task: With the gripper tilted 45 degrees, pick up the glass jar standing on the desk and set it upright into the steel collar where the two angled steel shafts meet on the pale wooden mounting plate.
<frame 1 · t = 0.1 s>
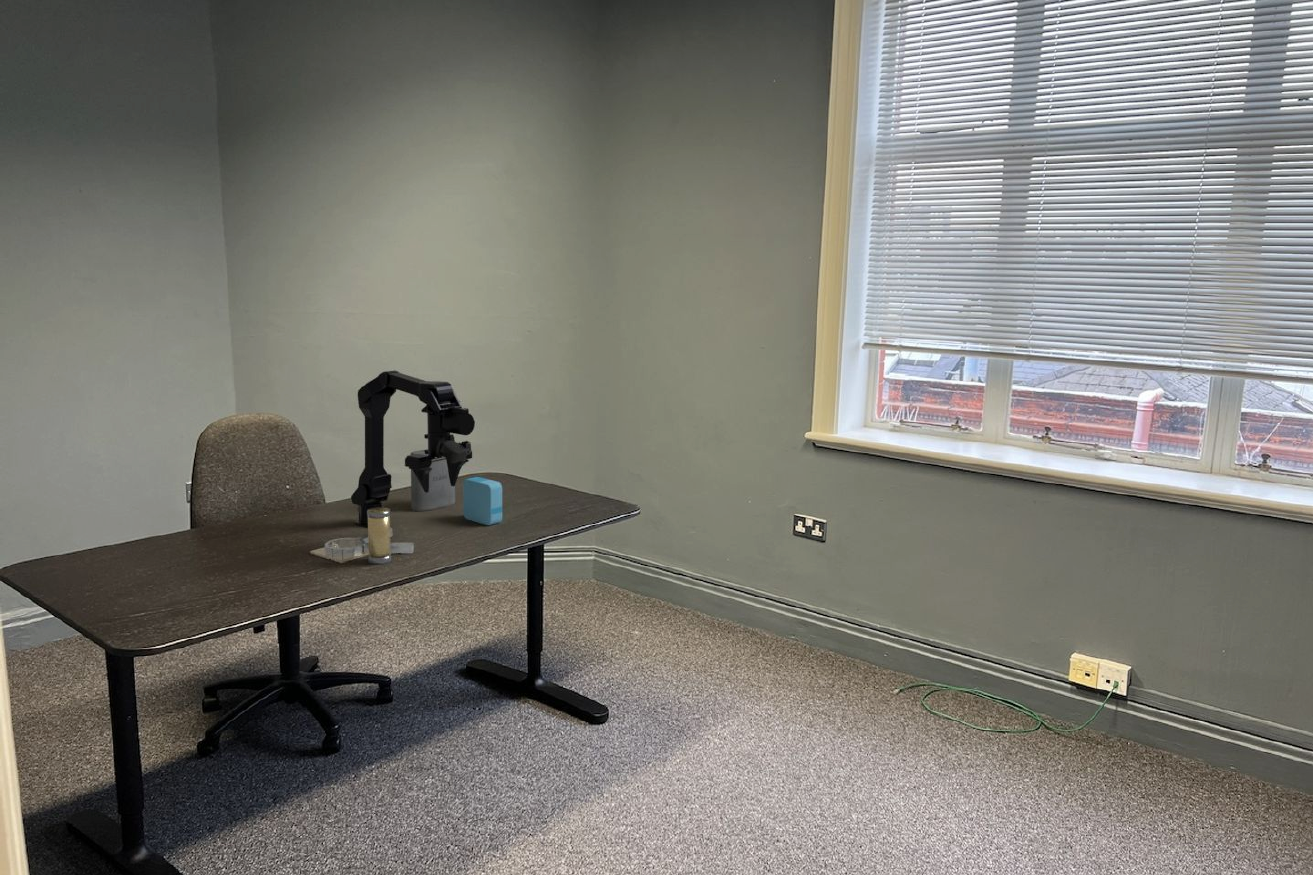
hand: (439, 489, 243), 15 cm above the table, tool pointing down, fingers open, 9 cm apart
flask: (434, 507, 281), on the table
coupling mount: (345, 552, 236), on the table
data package: (482, 521, 268), on the table
glass jar: (380, 560, 230), on the table
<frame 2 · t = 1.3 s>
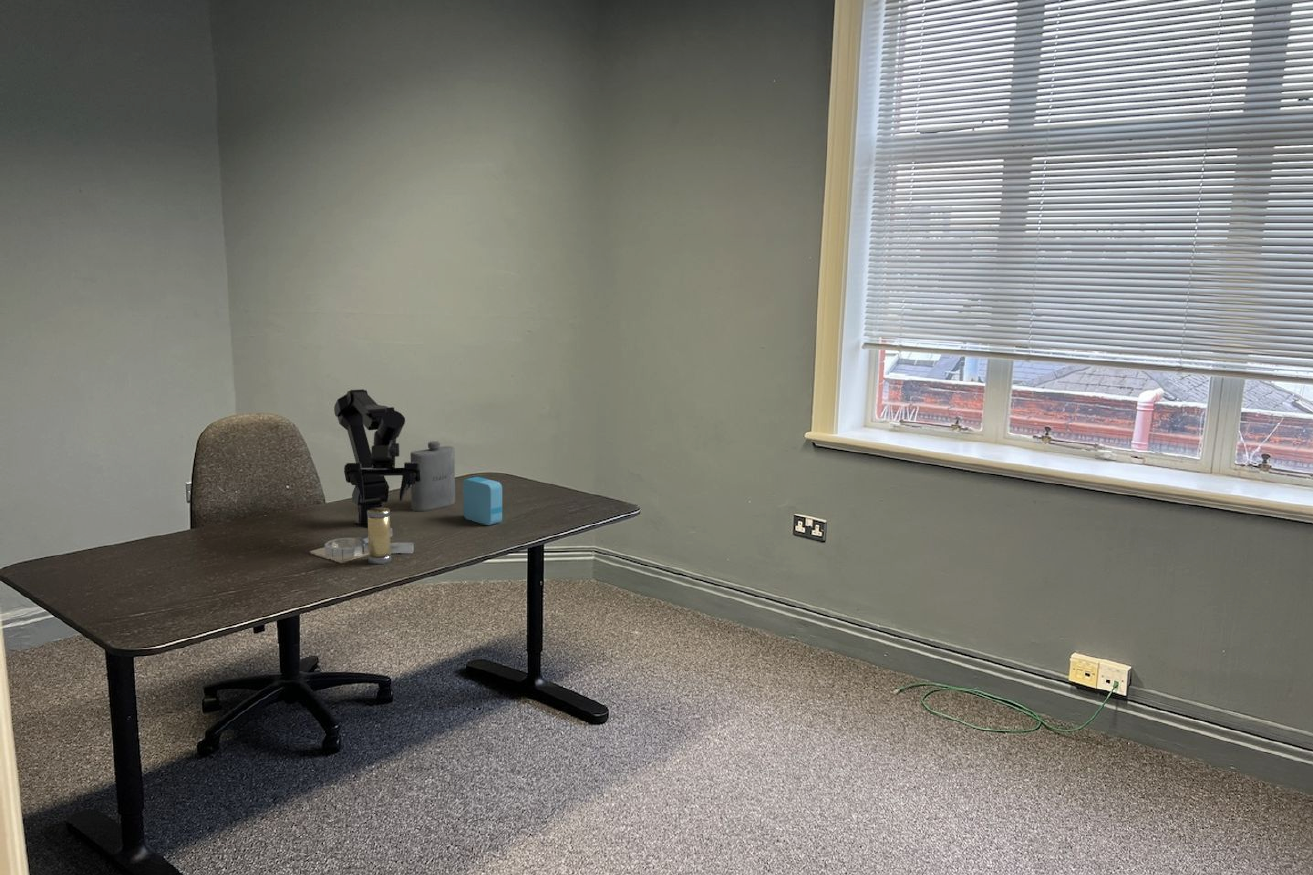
hand: (381, 500, 235), 13 cm above the table, tool tilted 45°, fingers open, 9 cm apart
nothing on the table moved.
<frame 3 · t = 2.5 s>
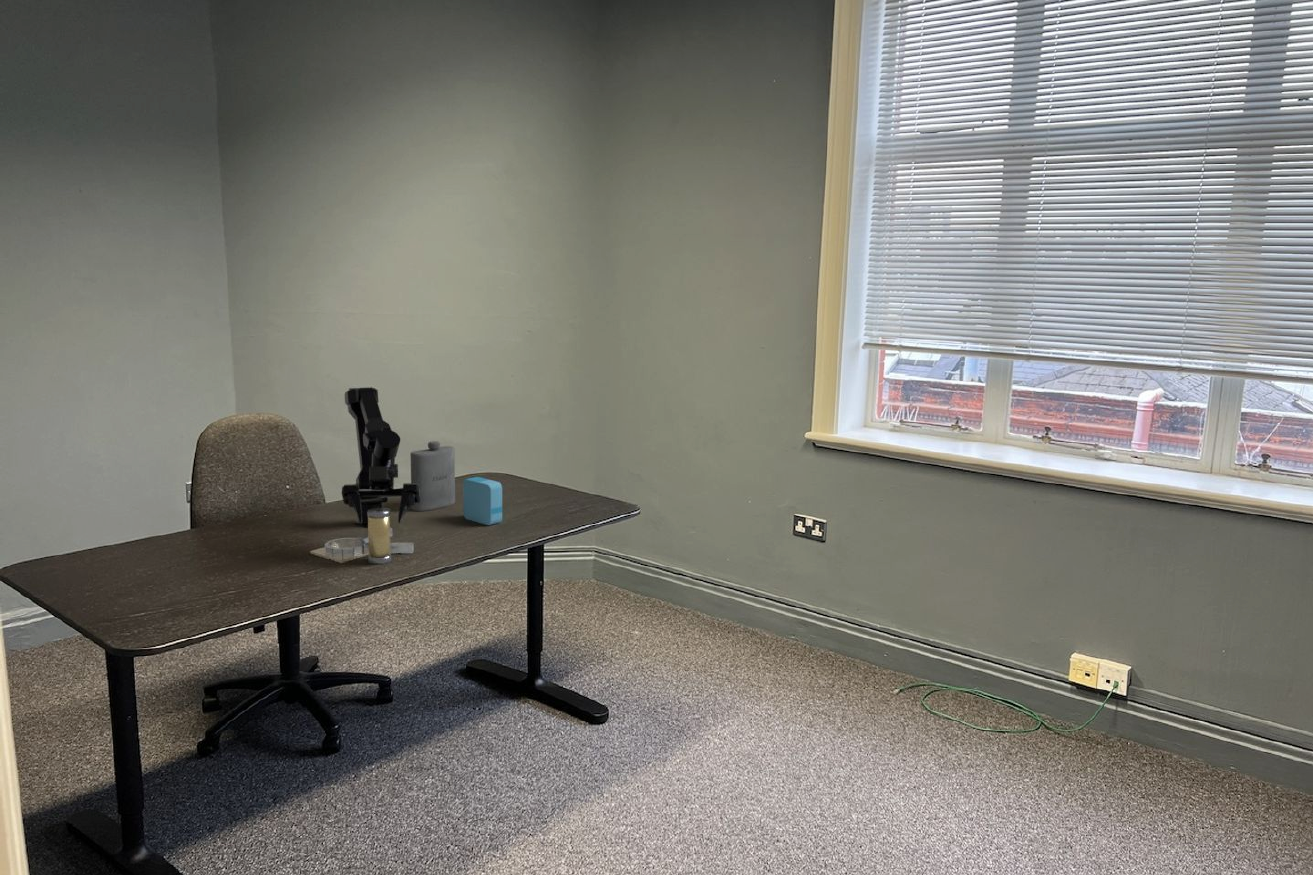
hand: (380, 522, 230), 9 cm above the table, tool tilted 45°, fingers open, 9 cm apart
nothing on the table moved.
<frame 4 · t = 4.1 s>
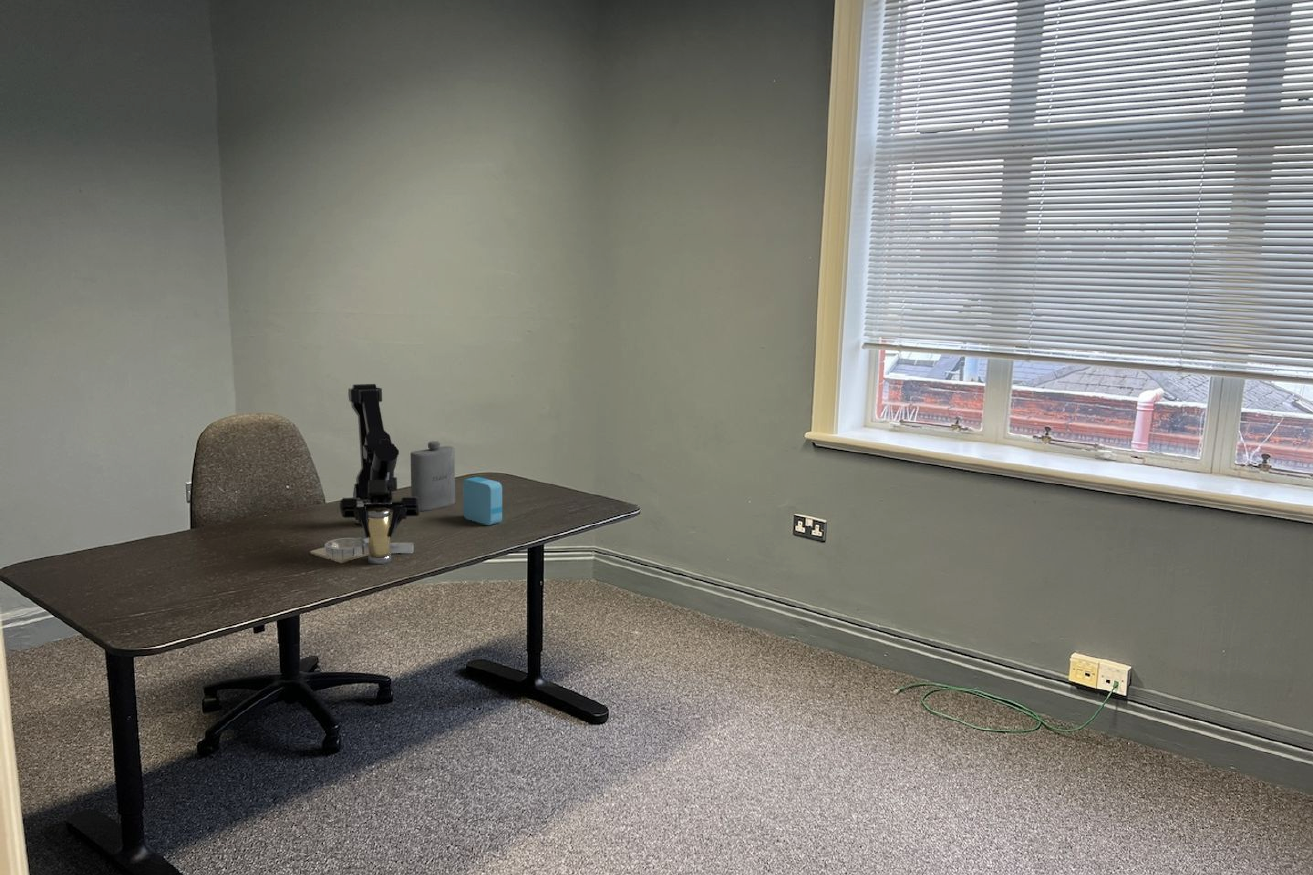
hand: (378, 537, 227), 7 cm above the table, tool tilted 45°, fingers closed on glass jar, 5 cm apart
glass jar: (380, 560, 230), on the table, touching gripper
everything else where it was.
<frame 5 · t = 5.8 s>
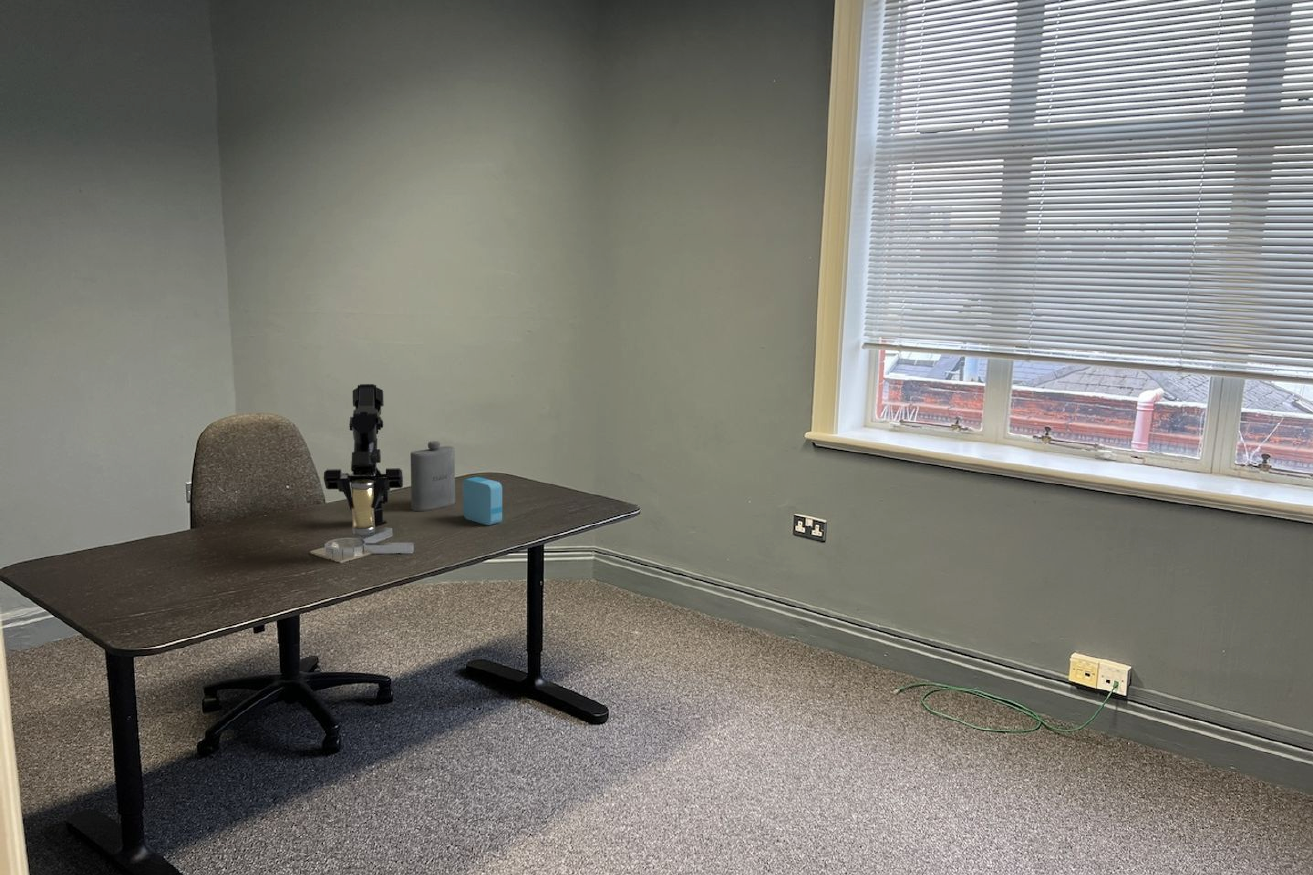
hand: (362, 508, 229), 13 cm above the table, tool tilted 45°, fingers closed on glass jar, 5 cm apart
glass jar: (363, 532, 232), point 6 cm above the table, touching gripper
everything else where it was.
when the fingers open (8 cm above the table, at t = 7.9 s): glass jar drops 1 cm, resting on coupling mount.
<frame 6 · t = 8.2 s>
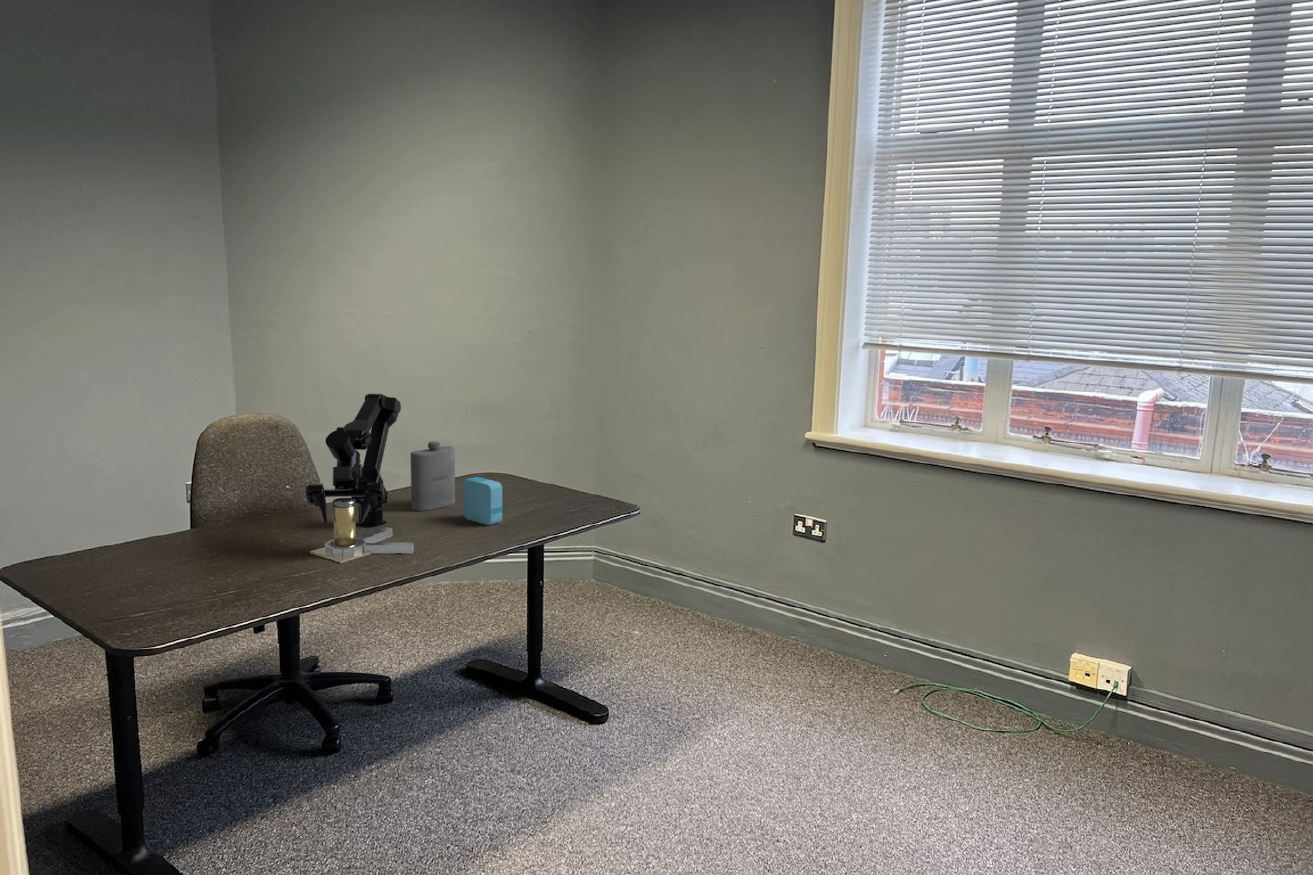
hand: (343, 522, 233), 8 cm above the table, tool tilted 45°, fingers open, 8 cm apart
glass jar: (345, 549, 236), point 1 cm above the table, touching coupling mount
everything else where it was.
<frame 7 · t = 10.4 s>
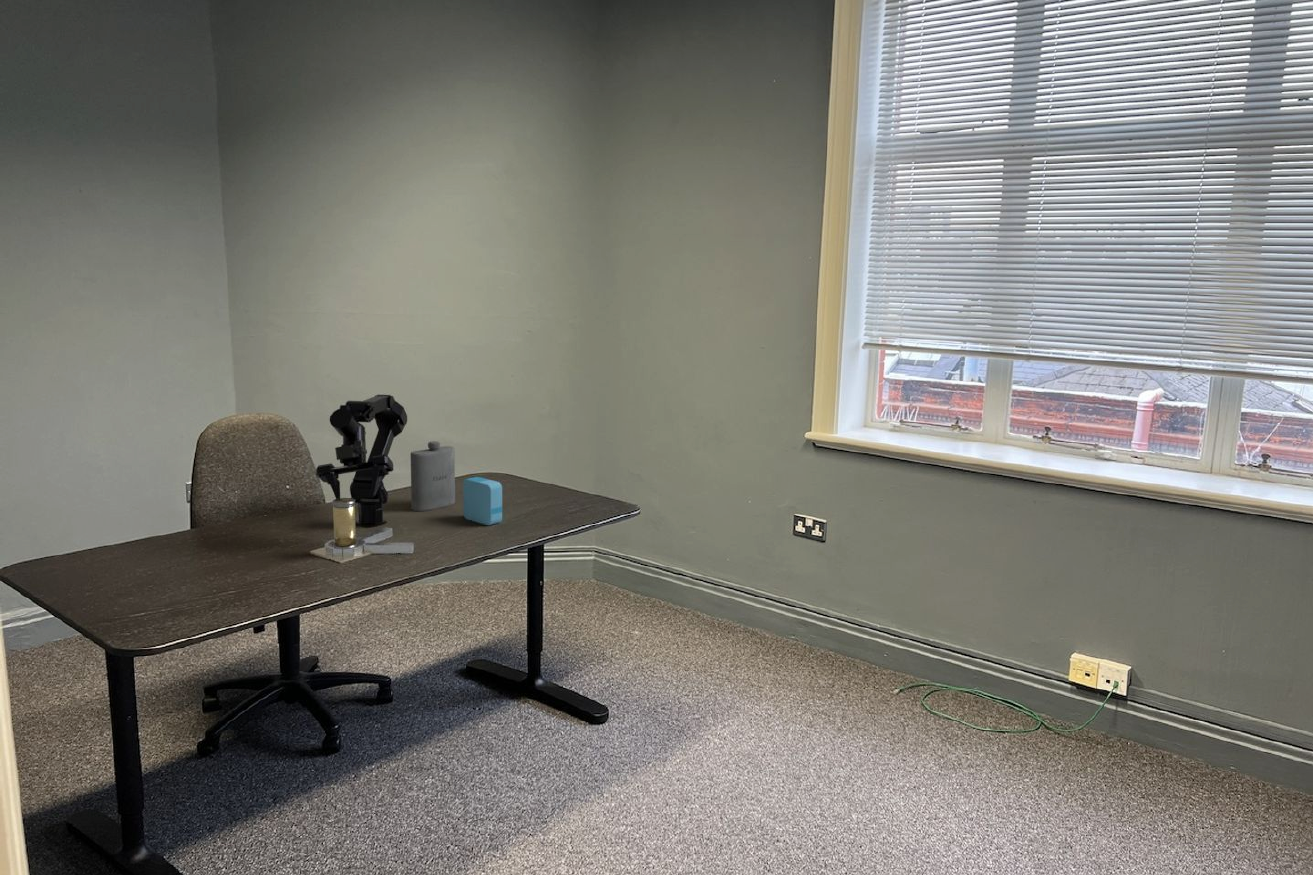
hand: (355, 498, 239), 13 cm above the table, tool tilted 35°, fingers open, 9 cm apart
nothing on the table moved.
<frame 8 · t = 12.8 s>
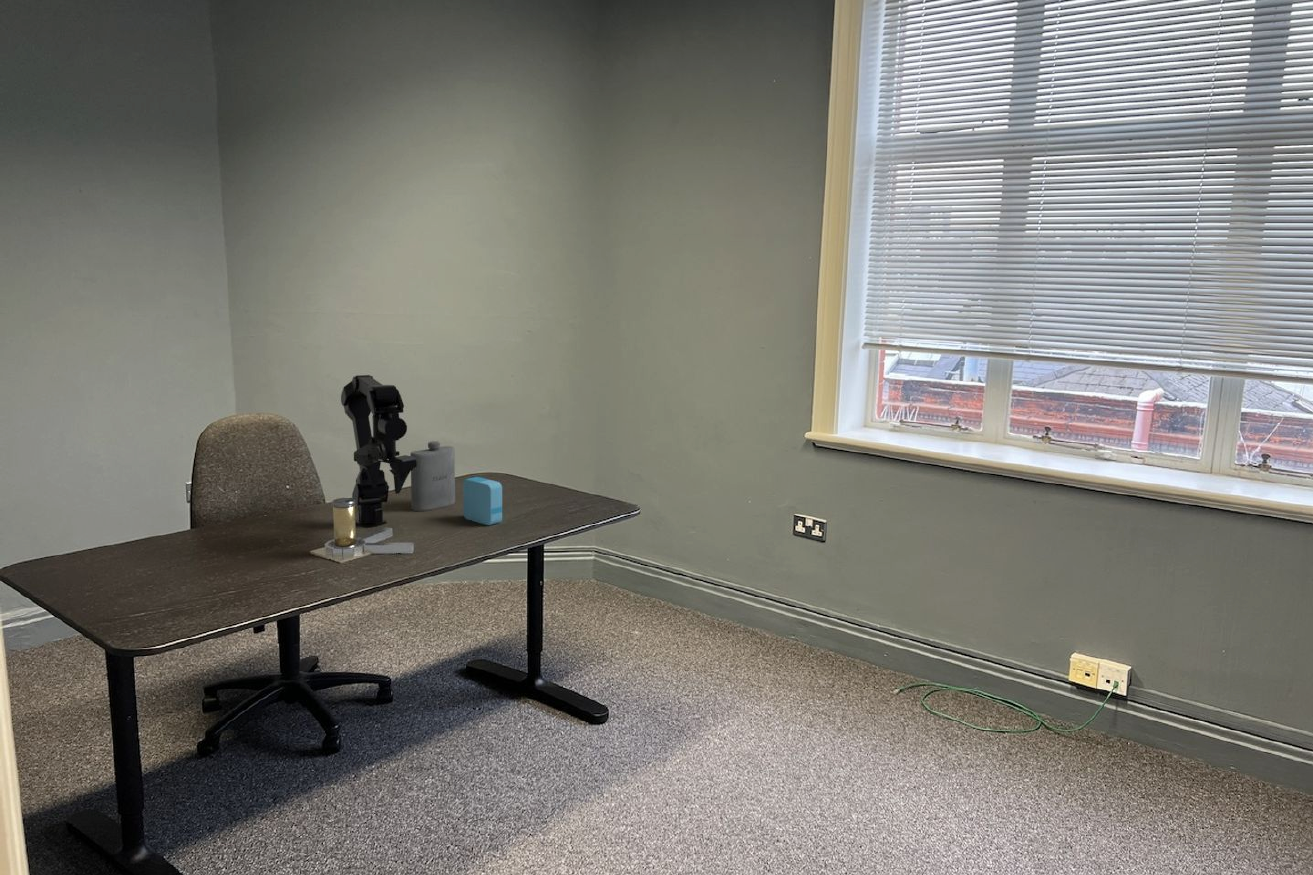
hand: (385, 490, 247), 13 cm above the table, tool pointing down, fingers open, 9 cm apart
nothing on the table moved.
at the end: glass jar 0.1 cm off-centre on the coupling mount, point 0.6 cm above the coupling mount's base; glass jar tilted 0°; the gripper is holding nothing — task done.
